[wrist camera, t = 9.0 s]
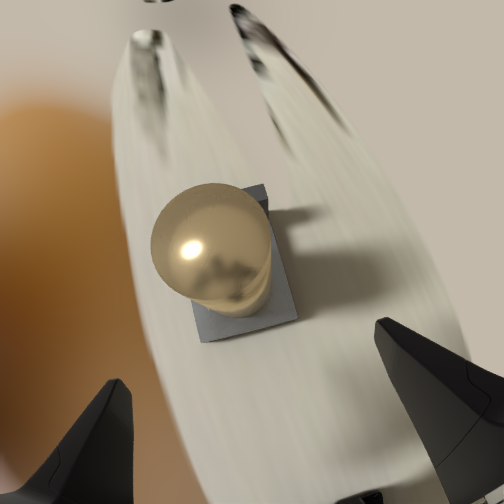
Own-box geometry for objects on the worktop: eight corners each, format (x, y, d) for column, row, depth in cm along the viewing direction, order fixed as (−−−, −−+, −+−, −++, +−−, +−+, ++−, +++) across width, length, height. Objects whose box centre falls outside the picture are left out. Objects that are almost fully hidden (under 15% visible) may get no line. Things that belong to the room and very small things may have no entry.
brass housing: (279, 308, 20) (286, 281, 11) (212, 325, 20) (161, 312, 11) (261, 244, 22) (253, 171, 12) (198, 261, 22) (144, 201, 12)
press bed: (296, 319, 22) (303, 314, 17) (205, 342, 21) (189, 342, 17) (264, 210, 24) (263, 183, 20) (181, 233, 24) (164, 210, 20)
